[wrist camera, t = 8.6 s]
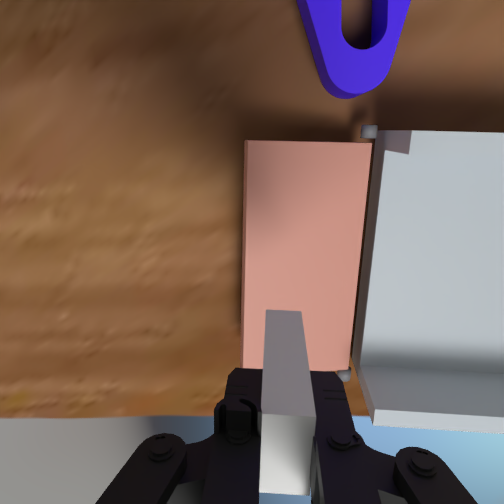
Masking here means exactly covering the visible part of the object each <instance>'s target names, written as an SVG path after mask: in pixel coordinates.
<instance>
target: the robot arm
mask: <svg viewBox="0 0 504 504" xmlns="http://www.w3.org/2000/svg"><path fill="white" fill-rule="evenodd" d="M310 487H311V497H312V498H311V504H478V503H477V502H476V501H475V500H474V498H473V497H472V496H471V495H470V493H469V492H468V491H467V490H466V489H465V487H464V486H463V485H462V483H461V482H460V481H459V480H458V479H457V477H456V476H455V475H454V474H453V472H452V471H451V470H450V469H449V467H448V466H447V465H446V463H445V462H444V461H443V460H442V459H440V458H439V457H438V456H437V455H435V454H434V453H432V452H430V451H428V450H426V449H422V448H418V447H406V448H403V449H400V451H399V452H398V453H397V454H396V457H394V456H390V455H387V454H384V453H381V452H378V451H376V450H373V449H372V448H370V447H369V446H367V445H366V444H365V442H364V441H363V439H362V437H361V436H360V435H359V434H358V433H357V432H356V431H355V428H354V423H353V420H352V416H351V412H350V408H349V404H348V401H347V397H346V393H345V389H344V385H343V381H342V380H341V379H340V378H339V377H338V375H337V374H336V373H335V372H329V371H310V369H309V362H308V355H307V348H306V341H305V334H304V327H303V320H302V313H301V311H289V310H267V309H266V317H265V337H264V357H263V369H253V368H235V369H234V370H233V371H232V372H231V373H230V374H229V375H228V380H227V385H226V390H225V396H224V399H222V400H221V401H220V402H219V403H217V405H216V407H215V409H214V434H213V435H211V436H210V437H209V438H207V439H205V440H203V441H200V442H196V443H191V444H186V445H185V442H184V441H183V440H182V439H181V438H180V437H178V436H176V435H174V434H167V433H162V434H158V435H154V436H152V437H149V438H147V439H146V440H145V441H143V443H141V444H140V445H139V446H138V448H137V449H136V450H135V452H134V453H133V454H132V456H131V457H130V458H129V460H128V461H127V462H126V464H125V465H124V466H123V468H122V469H121V470H120V472H119V473H118V474H117V475H116V477H115V478H114V480H113V481H112V482H111V483H110V485H109V486H108V487H107V489H106V490H105V491H104V493H103V494H102V496H101V497H100V498H99V500H98V501H97V502H96V503H95V504H259V492H264V493H265V492H266V493H280V494H295V495H310Z"/></svg>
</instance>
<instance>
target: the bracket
mask: <svg viewBox="0 0 504 504" xmlns="http://www.w3.org/2000/svg"><path fill="white" fill-rule="evenodd" d="M410 1H411V0H372V35H371V45H370V48H369V49H365V50H360V49H356V48H353V47H351V46H350V45H349V44H348V43H347V42H346V41H345V39H344V37H343V35H342V30H341V0H297V4H298V7H299V10H300V14H301V17H302V20H303V24H304V27H305V30H306V33H307V37H308V40H309V43H310V47H311V50H312V53H313V57H314V60H315V63H316V66H317V70H318V73H319V76H320V80H321V83H322V85H323V86H324V88H325V89H326V90H327V91H328V92H329V93H330V94H331V95H333V96H335V97H337V98H341V99H350V98H354V97H356V96H359V95H361V94H363V93H365V92H368V91H370V90H372V89H374V88H375V87H377V86H378V85H379V84H380V83H381V82H382V81H383V80H384V78H385V77H386V75H387V74H388V72H389V69H390V66H391V63H392V60H393V56H394V53H395V50H396V47H397V43H398V40H399V37H400V34H401V30H402V27H403V24H404V21H405V17H406V14H407V11H408V8H409V5H410Z"/></svg>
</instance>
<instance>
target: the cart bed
mask: <svg viewBox="0 0 504 504" xmlns="http://www.w3.org/2000/svg"><path fill="white" fill-rule="evenodd" d="M377 128H378V125H362V126H361V136H360V138H376V139H375V148H374V157H373V167H372V176H371V185H370V194H369V204H368V213H367V222H366V231H365V241H364V250H363V259H362V268H361V278H360V287H359V296H358V305H357V314H356V324H355V333H354V342H353V351H352V361H353V364H354V367H355V370H356V373H357V376H358V379H359V383H360V386H361V389H362V392H363V395H364V398H365V402H366V405H367V408H368V411H369V414H370V417H371V421H372V424H373V425H376V426H392V427H407V428H423V429H438V430H454V431H468V432H483V433H499V434H504V133H490V132H452V131H414V130H377ZM337 375H338V377H339V378H340V379H341V380H342V381H349V380H350V376H351V368H350V367H349V366H348V369H347V370H338V371H337Z"/></svg>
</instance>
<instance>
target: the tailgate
mask: <svg viewBox="0 0 504 504" xmlns="http://www.w3.org/2000/svg"><path fill="white" fill-rule="evenodd" d="M371 149H372V143H360V142H314V141H268V140H245V145H244V197H243V248H242V299H241V351H240V368H253V369H263V357H264V337H265V317H266V309H267V310H289V311H301V313H302V320H303V327H304V334H305V341H306V348H307V355H308V362H309V369H310V371H335V370H347V369H348V365H349V356H350V346H351V337H352V327H353V318H354V309H355V299H356V290H357V280H358V271H359V262H360V252H361V243H362V233H363V224H364V214H365V205H366V196H367V186H368V177H369V167H370V158H371Z"/></svg>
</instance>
